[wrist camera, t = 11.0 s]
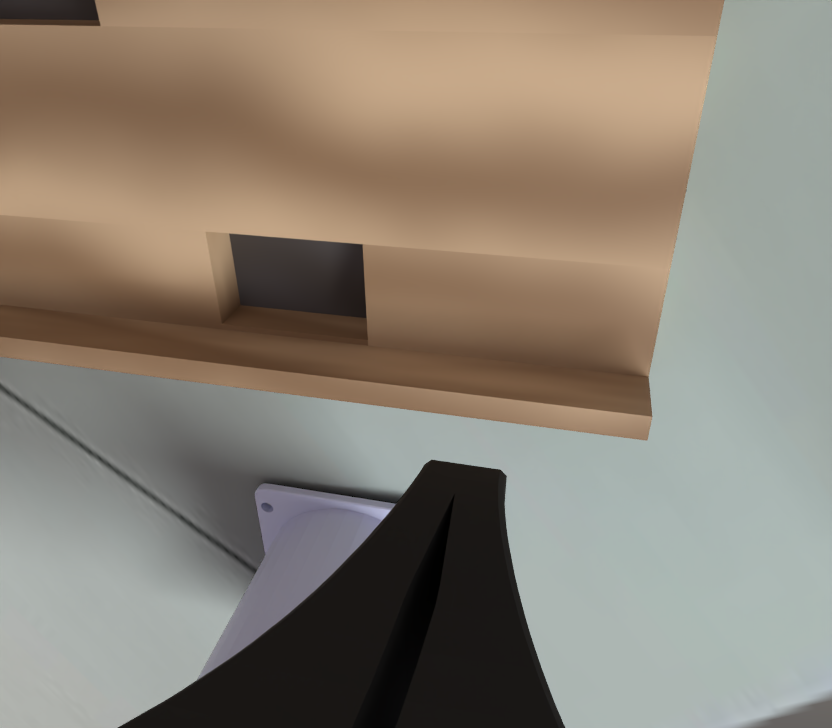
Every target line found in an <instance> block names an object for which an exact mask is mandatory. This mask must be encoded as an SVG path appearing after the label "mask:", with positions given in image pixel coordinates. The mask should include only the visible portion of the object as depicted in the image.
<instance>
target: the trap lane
mask: <svg viewBox="0 0 832 728" xmlns="http://www.w3.org/2000/svg"><path fill="white" fill-rule="evenodd" d="M723 4H724V0H0V357H7V358H14V359H22V360H30V361H37V362H45V363H53V364H61V365H68V366H76V367H84V368H92V369H99V370H107V371H115V372H122V373H130V374H138V375H146V376H153V377H161V378H169V379H176V380H184V381H192V382H200V383H207V384H215V385H223V386H231V387H238V388H246V389H254V390H261V391H269V392H277V393H285V394H292V395H300V396H308V397H316V398H323V399H331V400H339V401H346V402H354V403H362V404H370V405H377V406H385V407H393V408H400V409H408V410H416V411H424V412H431V413H439V414H447V415H455V416H462V417H470V418H478V419H485V420H493V421H501V422H509V423H516V424H524V425H532V426H539V427H547V428H555V429H563V430H570V431H578V432H586V433H594V434H601V435H609V436H617V437H624V438H632V439H640V440H647V439H648V435H649V430H650V425H651V420H652V409H651V398H650V388H649V378H648V377H649V372H650V367H651V362H652V357H653V352H654V347H655V342H656V337H657V332H658V327H659V322H660V317H661V312H662V307H663V302H664V297H665V292H666V287H667V282H668V277H669V272H670V267H671V262H672V257H673V253H674V248H675V243H676V238H677V233H678V228H679V223H680V218H681V213H682V208H683V203H684V198H685V193H686V188H687V183H688V178H689V173H690V168H691V163H692V158H693V153H694V148H695V143H696V138H697V133H698V128H699V123H700V119H701V114H702V109H703V104H704V99H705V94H706V89H707V84H708V79H709V74H710V69H711V64H712V59H713V54H714V49H715V44H716V39H717V34H718V29H719V24H720V19H721V14H722V9H723Z"/></svg>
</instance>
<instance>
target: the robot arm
mask: <svg viewBox="0 0 832 728" xmlns="http://www.w3.org/2000/svg"><path fill="white" fill-rule="evenodd" d="M506 477H507V476H506V475H505V474H504V473H503V472H502V471H501V470H498V469H491V468H484V467H478V466H471V465H464V464H457V463H450V462H443V461H436V460H431V461H429V462H428V463H426V464H425V465H424V467H423V468H422V470H421V471H420V473H419V474H418V476H417V477H416V478H415V480H414V481H413V483H412V484H411V485H410V487H409V488H408V489H407V491H406V492H405V493H404V494H403V496H402V497H401V498H400V500H399V501H398V502H397V503H396V504H394V503H388V502H382V501H375V500H369V499H363V498H356V497H350V496H344V495H337V494H331V493H325V492H318V491H312V490H306V489H299V488H293V487H287V486H281V485H274V484H268V483H263V484H261V485H260V486H259V487H258V488H257V490H256V491H255V500H256V506H257V512H258V517H259V523H260V528H261V534H262V540H263V545H264V551H265V557H264V559H263V561H262V562H261V564H260V566H259V568H258V570H257V572H256V573H255V575H254V577H253V579H252V581H251V582H250V584H249V586H248V588H247V590H246V592H245V593H244V595H243V597H242V599H241V601H240V602H239V604H238V606H237V608H236V610H235V612H234V613H233V615H232V617H231V619H230V621H229V622H228V624H227V626H226V628H225V630H224V632H223V633H222V635H221V637H220V639H219V641H218V642H217V644H216V646H215V648H214V650H213V652H212V653H211V655H210V657H209V659H208V661H207V662H206V664H205V666H204V668H203V670H202V672H201V673H200V675H199V677H198V679H197V681H195V682H194V683H192V684H191V685H189V686H188V687H186V688H185V689H183V690H182V691H180V692H179V693H177V694H175V695H174V696H172V697H170V698H169V699H167V700H165V701H164V702H162V703H160V704H159V705H157V706H155V707H153V708H151V709H150V710H148V711H146V712H144V713H143V714H141V715H139V716H137V717H136V718H134V719H132V720H130V721H129V722H127V723H125V724H123V725H122V726H120V727H118V728H565V726H564V724H563V722H562V719H561V717H560V715H559V712H558V710H557V708H556V705H555V703H554V700H553V698H552V695H551V692H550V690H549V687H548V684H547V682H546V679H545V676H544V674H543V671H542V668H541V665H540V662H539V659H538V656H537V653H536V650H535V647H534V645H533V641H532V638H531V635H530V632H529V628H528V625H527V622H526V618H525V615H524V611H523V607H522V603H521V599H520V596H519V592H518V588H517V583H516V579H515V575H514V570H513V564H512V559H511V554H510V548H509V543H508V536H507V529H506V519H505V505H504V503H505V490H506ZM267 503H268V504H267ZM269 504H270V505H269Z"/></svg>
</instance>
